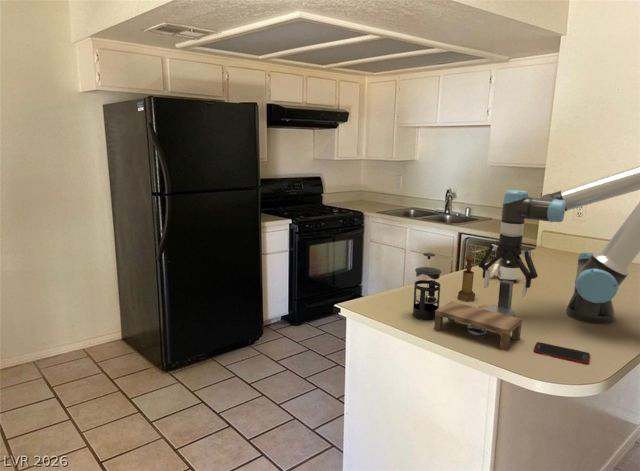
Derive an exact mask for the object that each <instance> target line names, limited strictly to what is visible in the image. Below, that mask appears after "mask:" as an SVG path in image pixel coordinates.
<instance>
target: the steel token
mask: <svg viewBox="0 0 640 471" xmlns="http://www.w3.org/2000/svg"><path fill="white" fill-rule="evenodd" d="M466 334H467V335H468V336H471V337H474V338H484V337H486V335H487V329H485V328H481V327H478V326H474V325H470V324H468V325H467V326H466Z"/></svg>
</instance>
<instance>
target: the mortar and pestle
mask: <svg viewBox="0 0 640 471" xmlns="http://www.w3.org/2000/svg"><path fill="white" fill-rule="evenodd" d="M464 259H465V261H466V263H467V264H466V265H465V269H466V270H463V271H462V272H463V274H462V284H461V290H459V291H458V292H457V298H458V300H460V301H463V302H474V301H475V300H476V293H475V292H474V290H473V287H474V286H473V285H474V273H475V272H474V271H472V268H473V265H472V263H473V261H474V256H473V254H466V256H465V258H464Z"/></svg>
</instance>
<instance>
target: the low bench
mask: <svg viewBox="0 0 640 471" xmlns="http://www.w3.org/2000/svg"><path fill="white" fill-rule="evenodd" d="M484 309H485V308H479V307H476V306H472V305H468V304H464V303H460V302H457V301H453V300H452V301H449V302H447V303H446V304H444V305H442V306H441V307H439V309H437V310H435V320H434V324H433V327H434V328H433V329H434V330H437V331H441V330H443V326H444V325H443V324H444V318H446V319H447V321H449V322H455V321H456V322H460V323H462V324H463V323H464V324H467V325H474V326H478V327H481V328H485V329H486V330H490V331H493V332H496V333H499V334H500V344H499V349H501V350H504V351H508V350H509V348H510V341H511V340H510V338H511V339H513V340H517V341H519V340H520V339H521V333H522V324H523V323H522V322H523V319H522V318H519V317H516V316H513V317H512V316H508V315H504V314H500V313H496V312H492V311H488V310H484Z"/></svg>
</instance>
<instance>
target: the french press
mask: <svg viewBox="0 0 640 471" xmlns="http://www.w3.org/2000/svg"><path fill="white" fill-rule="evenodd" d="M422 255H423V256H425V257H427V262H428V263H427V267H426V266H422V267H421V266H420V267H417V268H415V272H416V275H415V276H416V277H419V276H421V275H424V276H425V275H426V277H427V278H426V280H425V279H422V280H416V281H414V286H413V287H414V289H413V291H414V292H413V305H412V306H413V308H412V313H411V316H412V317H413V318H414V319H417V320H420V321H424V322H425V321H426V322H429V321H430V322H432V321H435V310H437V309H439V308H440V296H441V284H440V283H439V282H437V281H436V280H439V279H440V276H441V274H442V270H440V269H439V268H435V267H431V266H430V260H431V257H436V254H434V253H432V252H424V253H422ZM429 278H430V279H429ZM421 284H422V285H424V284H426V287H424V286H420V285H421ZM418 290H419V291H420V294H419V295H417V291H418ZM435 292H437V297H436V296H435V295H436V293H435ZM416 302H417V303H416Z"/></svg>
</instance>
